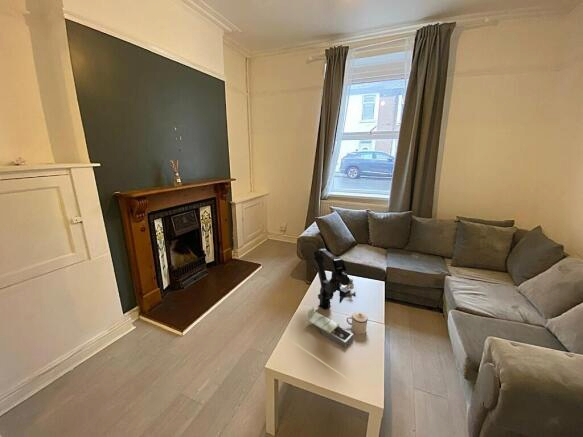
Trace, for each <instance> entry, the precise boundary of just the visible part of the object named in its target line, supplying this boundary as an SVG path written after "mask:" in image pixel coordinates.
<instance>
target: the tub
mask: <svg viewBox="0 0 583 437" xmlns="http://www.w3.org/2000/svg"><path fill="white" fill-rule="evenodd" d="M320 334H321V335H322V336H324V337H326V338H328V339H329V340H331V341H332V342H335V343H336V344H337V345H338V346H339V345H340V347H343V348H344V349H345V348H346V347H347V346H348V345H349V344H350V343H351V342H352V341H353V340H354V336H355V335H354V333H352V332H350V331H349V330H347V329H345V328H343V327H341V326H340V325H339V326H338V327H337V328H336V329H335V333H334V334H332V333H328V332H326V331H324V330H323V329H321V328H320ZM339 334H343V335H344V339H341V338H339Z"/></svg>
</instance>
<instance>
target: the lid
mask: <svg viewBox="0 0 583 437" xmlns="http://www.w3.org/2000/svg"><path fill="white" fill-rule="evenodd" d="M307 317H308V318H306V321H307V322H309V323H311V324H313V325H314V326H316V327H317V328H319V329H320V330H321V329H323V330H324V331H326V332H328V333H331V332H332V331H333V330H335V329H336V328H337V327H338V326H340V324H339V323H337V322H336V321H334V320H332V319H330V318H328V317H326V316H324V315H322V314H321V313H319V312H317V311H315V308H314V306H312V307H311V308H309V309H308V314H307Z"/></svg>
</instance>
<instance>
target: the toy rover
mask: <svg viewBox="0 0 583 437" xmlns="http://www.w3.org/2000/svg"><path fill="white" fill-rule="evenodd" d="M340 285H341V287H340V288H341V289H344V288H346V289H348V290H350V295H349V296H352V295H353V296H354V297H356V296H357V295H356V294H357V292H356V291H355V290H354V287H355V286H354V279H353V278H350V282H349V284H347V285H345V286H344V285H342V284H341V283H340Z"/></svg>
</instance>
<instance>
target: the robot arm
mask: <svg viewBox="0 0 583 437" xmlns="http://www.w3.org/2000/svg"><path fill="white" fill-rule="evenodd" d="M311 260H312V262H313V263H314V265H316V269H317V273H318V278H319V281H320V282H319V283H320V289H319V294H318V295H317V298H318V300H319V305H317V307H319V308H321V309H323V310H328V309H330V308H331V307H332V305H331V300H333V298H334V294H335V293H336V291H338V292H339V294H338V295H339V304H341V303H342V301H343V300H344V298H347V297H348V296H351V295H350V290H348V289H346V288H344V289H341V288H340V287H341V285H340V283H341V284H342V285H344V286H345V285H347V284H349V282H350V279H351V278H350V277H349V276H348V274H347V273H345V272H347V267H346V265H345V261H344V259H343V258H342V257H339V256H335V255H334V254H332V253H331V252H329V251H328V250H327V249H326V248H318V250H317V251H314V252H312V254H311ZM325 260H326V261H328V262H329V265H330V269H331V275H330V276H331V278H330V279H327V274H326V270H325V265H324V262H325Z"/></svg>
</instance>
